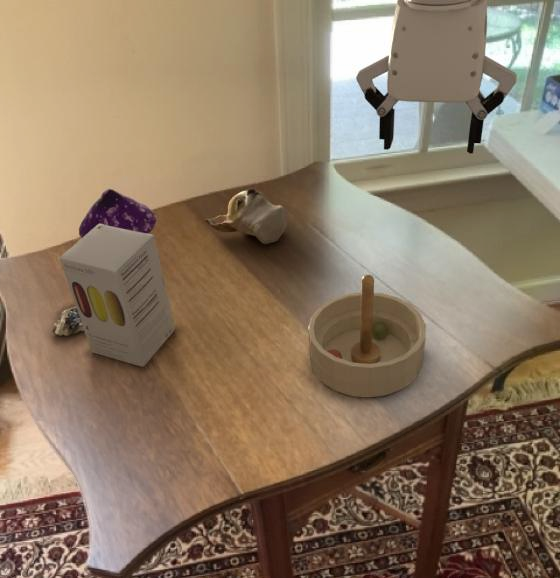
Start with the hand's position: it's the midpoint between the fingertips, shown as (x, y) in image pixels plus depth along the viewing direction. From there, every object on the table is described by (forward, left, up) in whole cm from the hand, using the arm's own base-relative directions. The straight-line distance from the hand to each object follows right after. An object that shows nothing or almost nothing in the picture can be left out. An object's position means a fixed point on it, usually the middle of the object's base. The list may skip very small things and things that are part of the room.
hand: (429, 146), depth 78 cm
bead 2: (+1, +6, -25) cm, 26 cm away
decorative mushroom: (+44, +21, -27) cm, 56 cm away
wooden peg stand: (0, +11, -26) cm, 29 cm away
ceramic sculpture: (+36, -1, -27) cm, 46 cm away
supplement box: (+28, +31, -27) cm, 50 cm away
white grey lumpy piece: (+39, +35, -27) cm, 59 cm away
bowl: (0, +11, -27) cm, 29 cm away
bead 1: (+2, +15, -25) cm, 29 cm away
